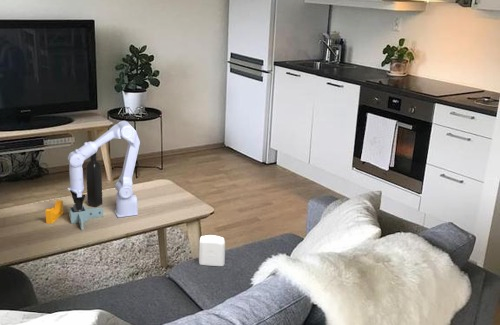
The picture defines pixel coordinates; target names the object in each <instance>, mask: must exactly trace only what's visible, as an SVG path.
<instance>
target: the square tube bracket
mask: <svg viewBox="0 0 500 325" xmlns="http://www.w3.org/2000/svg"><path fill="white" fill-rule="evenodd" d="M102 217H104V207H103V206H102V207H101V206H100V207H99V206H98V207H93V208H87V207H86V205H85V204H84V205H83V211H80V212H74V209H73V206H68V218H69V220H70V223H71V224H79V227H80V230H81V231H84V228H85V227H84V223H87V222H89V219H95V218H102Z"/></svg>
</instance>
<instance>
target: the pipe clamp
mask: <svg viewBox="0 0 500 325" xmlns="http://www.w3.org/2000/svg"><path fill="white" fill-rule="evenodd" d="M54 203H55V204H54V206H53V207H51V208H47V209H45V210H44V212H45V222H46V225H47V224H48V225H53V223H54V222H56V221H57V220H58V219H59V218H60V217H61V216H62V215H63V214H64V204H63V200H61V199H60V200H56V201H55V202H54Z"/></svg>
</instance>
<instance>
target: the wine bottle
mask: <svg viewBox="0 0 500 325" xmlns="http://www.w3.org/2000/svg"><path fill="white" fill-rule="evenodd" d="M89 158H90V159H89V161H88V162H87V163H86V166H85V175H86V176H85V177H86V198H87V200H86V201H87V205H88V206H89V207H93V208H98V207H99V206H101V205H103V179H102V178H103V176H102V173H103V172H102V165H101V163H100V161H98V159H97V152H96V153H95V154H93V155H92V156H90V157H89Z"/></svg>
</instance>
